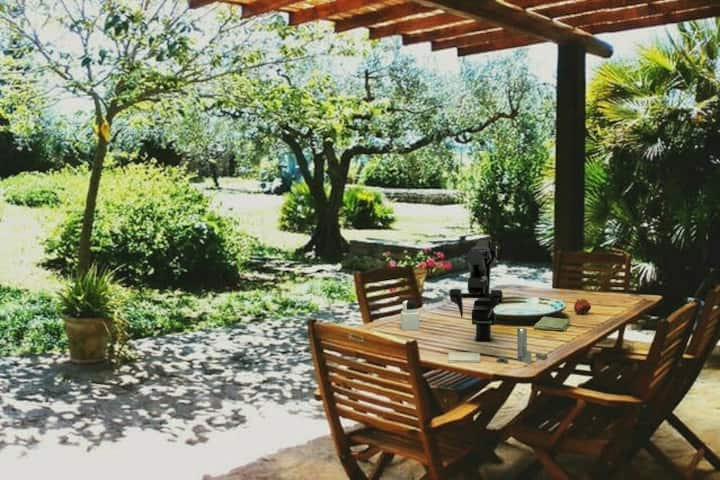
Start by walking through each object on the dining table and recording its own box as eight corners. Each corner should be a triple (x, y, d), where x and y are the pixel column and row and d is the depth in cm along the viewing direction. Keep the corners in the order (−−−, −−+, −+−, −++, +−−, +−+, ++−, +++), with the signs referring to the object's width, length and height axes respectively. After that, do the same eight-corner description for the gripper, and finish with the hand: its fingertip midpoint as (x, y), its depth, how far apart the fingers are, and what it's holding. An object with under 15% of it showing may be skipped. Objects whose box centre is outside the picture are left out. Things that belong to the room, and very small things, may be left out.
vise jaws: (494, 360, 253) (494, 356, 253) (542, 356, 257) (542, 352, 257) (500, 363, 248) (500, 360, 248) (549, 359, 253) (549, 356, 252)
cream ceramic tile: (448, 354, 262) (448, 352, 262) (479, 354, 261) (479, 352, 261) (448, 362, 252) (448, 359, 252) (480, 362, 250) (480, 360, 250)
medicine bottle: (417, 326, 312) (417, 299, 311) (419, 330, 305) (419, 301, 304) (401, 327, 312) (400, 299, 311) (402, 330, 305) (402, 302, 304)
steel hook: (515, 359, 254) (515, 328, 253) (524, 358, 255) (524, 327, 254) (524, 363, 247) (524, 332, 246) (533, 363, 248) (533, 331, 247)
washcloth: (532, 330, 301) (532, 323, 301) (541, 322, 317) (541, 315, 316) (564, 333, 295) (564, 325, 295) (572, 325, 311) (572, 317, 311)
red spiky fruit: (593, 319, 330) (585, 303, 337) (595, 309, 325) (587, 293, 332) (577, 322, 330) (570, 305, 337) (579, 311, 325) (572, 295, 332)
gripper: (449, 267, 261) (445, 306, 253) (501, 268, 256) (499, 307, 248) (453, 282, 270) (449, 320, 262) (504, 283, 265) (501, 322, 257)
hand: (474, 317), depth 257 cm, fingers open, 9 cm apart
